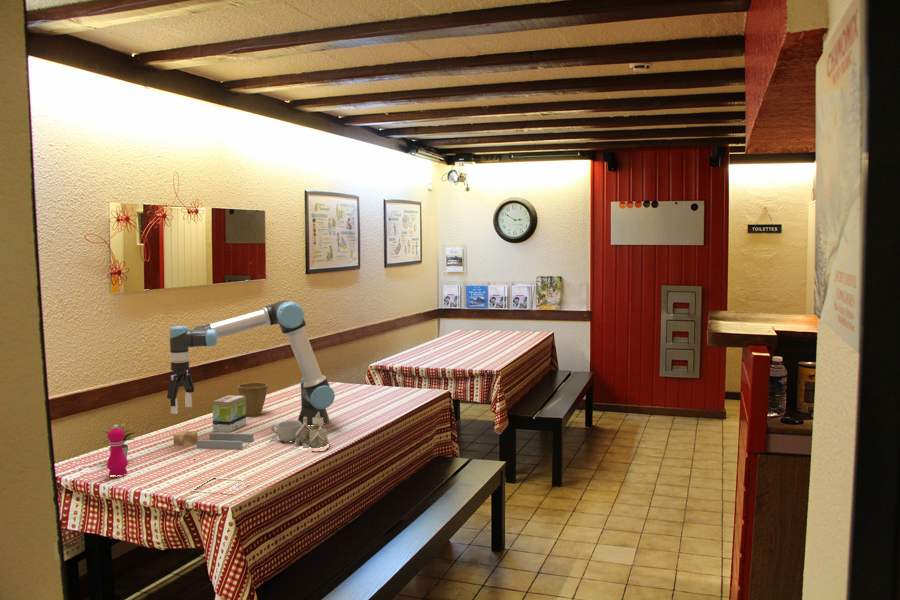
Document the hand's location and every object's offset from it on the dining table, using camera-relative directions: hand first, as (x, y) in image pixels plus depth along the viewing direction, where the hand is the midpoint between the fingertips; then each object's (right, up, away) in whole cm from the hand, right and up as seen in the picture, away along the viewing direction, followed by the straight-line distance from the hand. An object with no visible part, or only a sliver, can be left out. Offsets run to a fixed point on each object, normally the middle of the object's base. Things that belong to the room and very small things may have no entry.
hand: (181, 410), depth 300 cm
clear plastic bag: (+36, -20, -51) cm, 66 cm away
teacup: (+44, -16, +9) cm, 48 cm away
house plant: (-18, -18, -22) cm, 33 cm away
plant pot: (+15, -12, +58) cm, 61 cm away
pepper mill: (-10, -19, -38) cm, 44 cm away
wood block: (+5, -13, +1) cm, 14 cm away
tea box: (+11, -14, +32) cm, 37 cm away
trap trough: (+20, -16, -1) cm, 26 cm away
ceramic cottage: (+58, -16, -2) cm, 60 cm away
